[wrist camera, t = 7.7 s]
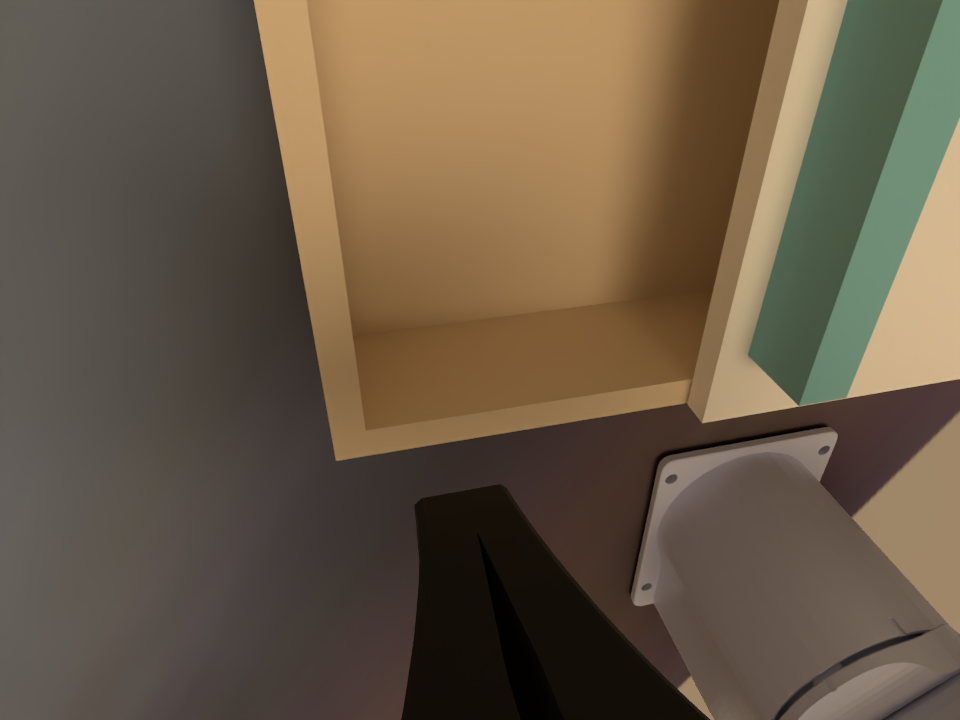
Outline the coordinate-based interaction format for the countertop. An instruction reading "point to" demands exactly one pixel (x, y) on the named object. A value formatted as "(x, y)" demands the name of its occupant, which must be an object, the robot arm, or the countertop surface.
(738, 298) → the tan board with ridge
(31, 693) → the countertop surface
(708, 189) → the mailer
